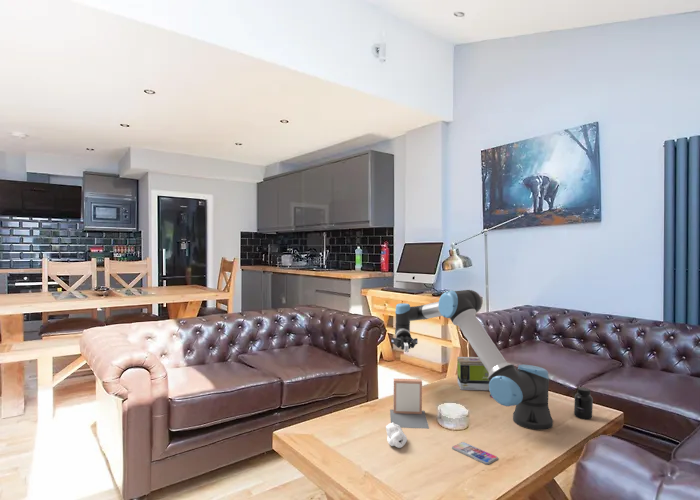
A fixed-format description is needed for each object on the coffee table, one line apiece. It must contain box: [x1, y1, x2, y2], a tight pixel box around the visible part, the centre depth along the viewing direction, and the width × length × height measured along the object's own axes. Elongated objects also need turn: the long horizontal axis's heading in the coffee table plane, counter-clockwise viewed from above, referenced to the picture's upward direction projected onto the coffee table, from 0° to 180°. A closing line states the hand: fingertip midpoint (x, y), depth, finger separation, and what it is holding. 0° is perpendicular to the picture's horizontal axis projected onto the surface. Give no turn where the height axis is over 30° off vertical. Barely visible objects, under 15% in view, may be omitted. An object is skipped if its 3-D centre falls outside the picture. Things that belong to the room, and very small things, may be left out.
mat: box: [389, 408, 430, 430], centre depth 177 cm, size 18×15×1 cm
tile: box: [392, 378, 423, 414], centre depth 183 cm, size 3×12×14 cm, turn 86°
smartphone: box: [451, 441, 499, 466], centre depth 149 cm, size 7×1×15 cm
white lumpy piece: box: [385, 422, 408, 449], centre depth 157 cm, size 9×12×8 cm
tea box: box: [456, 356, 490, 391], centre depth 217 cm, size 15×10×15 cm
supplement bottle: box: [573, 386, 594, 421], centre depth 181 cm, size 7×7×12 cm
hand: (406, 349), depth 191 cm, fingers closed
